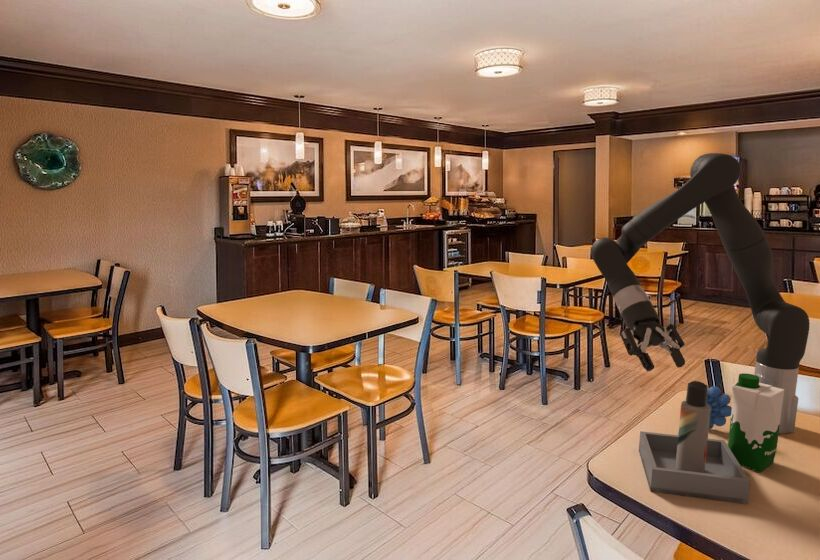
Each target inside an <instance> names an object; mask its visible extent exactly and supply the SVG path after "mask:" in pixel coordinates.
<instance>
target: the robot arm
mask: <svg viewBox="0 0 820 560" xmlns="http://www.w3.org/2000/svg"><path fill="white" fill-rule="evenodd" d="M741 167H742V166H741V164H740V162H739V161H738V159H737V158H736V157H734V156H732V155H730V154H727V153H723V152H722V153H720V152H718V153H716V152H715V153H713V152H711V153H704V154H702V155H700V156H698V157H697V158H695V160H694V161H693V163H692V164H691V167H690V172H689V174H690V179H688V180H687V181H686V182H685V183H684V184H683V185H682V186H680V187H678V189H676V190H675V191H673V192H671V193H670V194H669V195H667V196H665V197H663V198H662V199H660V200H658V201H656V202H655V203H653V204H651V205H649V206H648V207H646V208H644V209H643V210H642V211H640V212H639V213H638V214H636V215H635V216H634V217H633V218H632V219H630V220H629V221H628V222H627V223H625V224H624V225H623V226H622V228H621V234H620V236H619V238H617V239H616V240H614V239H612V238H609V237H601V238H598V239H597V240H595V241H594V242H593V243H592V245H591V249H590V253H591V254H590V255H591V257H592V260H593V262H594V264H595V266H596V267H597V268H598V270H599V272H600V274H601V275H602V276H603V278H604V280H605V282H606V284H607V287H608V289H609V291H610V293H611V295H612V297H613V300H614V301H615V305H616V307H617V310H618V311H619V314H620V317H622V320H623V322H624V323H625V325H626V327H625V329H623V331H621V332H620V338H621V340H622V342H623V345H624V347H625V349H626V351H627V354H628V355H629V356H636V357H637V358H638V359H639V361H640V363H641V365H642V368H643V369H644V370H645V371H646V372H651V371H652V370H653V369H655V364H654V362H653V361H652V359H651V356H650V355H649V353H648V352H647V348H648V347H660V349H664V350H666V351H667V352H668V353H670V357H671V358H672V361H673V362H674V364H675V367H676V368H683V367H684V365H686V359H685V358H684V356H683V354H682V352H681V351H680V350H681V349H682V348H683V347H684V346H685V342H684V340H683V339H682V337H681V335H680V334H679V332H678V331H677V328H676V327H675V325H674V324H672V323H670V324H668V325H667V326H663V325H662V324H661V323H660V316H659V314H658V312H657V310H656V309H655V306H654V305H653V303H652V301H651V300H650V297H649V295H648V294H647V292H646V291H645V290H644V289H643V286H641V283H640V281H639V279H638V278H637V276H636V274H635V272H634V271H633V270H632V269H631V268H630V266H629V265H628V263H629V262H630V261H631V260H632V259H633V257H635V256H636V254H637V253H639V250H640V249H641V248H642V247H643V246H644V245H646V244H647V243H649V242H650V241H651V240H653V239H654V238H655V237H656V236H658V235H660V233H662V232H663V231H664V230H666V228H668V227H670V226H671V225H672V224H674V223H675V222H676V221H677V220H679V219H681V218H682V217H683V216H685V215H687V214H688V213H689V212H691V211H693V210H694V209H696V208H697V207H699V206H700V205H702V204H705V205H706V208H708V211H709V212H710V215H711V218H712V220H713V224H714V226H715V229H716V231H717V234H718V235H719V238H720V241H721V243H722V246H723V249H724V250H725V252H726V255H727V257H728V259H729V262H730V263H731V265H732V267H733V269H734V271H735V274H736V276H737V278H738V280H739V282H740V284H741V286H742V287H743V288H742V289H743V290H744V293H745V295H746V298H747V301H748V304H749V306H750V310H751V314H752V317H753V320H754V323H755V325H756V327H758V328H759V330H761V331H762V332H763V333H765V334H766V335H768V339H767V345H766V347H765V348H760V349H759V350H757V352H756V355H755V356H756V359H755V365H754V374H753V375H756V376H758V377H759V383H763V384H768V385H771V386H773V387H776V388H780V389H784V396H783V403H782V410H781V418H780V426H779V434H782V435H783V434H789V433H791V434H794V433H795V427H796V421H797V412H798V405H799V397H798V396H797V394H796V393H797V386H798V384H797V383H798V378H799V377H798V376H799V369H800V368H799V367H800V363H801V361H802V359H803V358H804V356H805V353H806V349H807V345H808V344H807V343H808V339H809V333H810V317H809V315H808V312H807V311H806V310H805V309H803V308H802V307H800V306H796V305H795V304H792V303H789V302H787V301H786V300H784V298H783V296H782V295H781V292H780V291H779V289H778V286H777V285H776V283H775V280H774V274H773V273H774V270H773V269H774V255H773V250H772V248H771V245H770V243H769V240H768V238H767V237H766V234H765V232H764V230H763V228H762V226H761V225H760V223H759V222H758V221H757V219H756V218H755V216H753V214H752V213H751V212H750V211H749V210H748V208H747V207H746V206H745V205H744V203H743V201H742V200H741V198H740V197H739V195H738V193H737V190H736V187H735V184H737V182H738V180H739V179H740V176H741V172H742V169H741ZM664 340H665V341H664ZM779 434H778V435H779Z"/></svg>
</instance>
